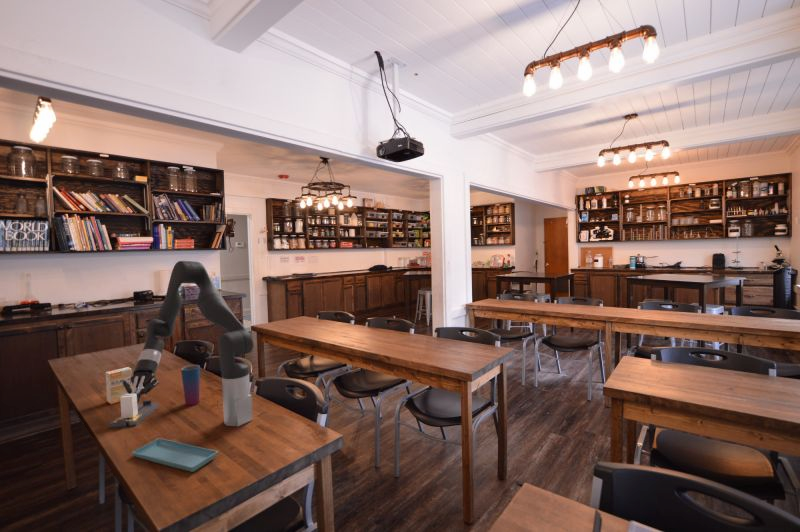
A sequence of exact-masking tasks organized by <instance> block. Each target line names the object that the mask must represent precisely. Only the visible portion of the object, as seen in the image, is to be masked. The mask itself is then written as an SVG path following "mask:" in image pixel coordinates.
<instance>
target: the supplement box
mask: <svg viewBox="0 0 800 532" xmlns="http://www.w3.org/2000/svg"><path fill="white" fill-rule="evenodd" d="M132 370H133V369H132V368H131V367H129V366H128V367H123V368H117V369H113V370H109V371H105V387H106V401H107V403H108V404H110V405H113V404H117V403H121V401H120V397H122V396H123V395H125V394H129V393H128V392H127V391H126V389H125V387H124V385H123V382H124V381H128V380H130V378H131V377H132V375H133V371H132ZM130 387H131V389H133V384H132V382H131V386H130Z"/></svg>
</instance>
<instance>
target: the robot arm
mask: <svg viewBox="0 0 800 532" xmlns="http://www.w3.org/2000/svg"><path fill="white" fill-rule="evenodd" d="M182 284H195V285H196V286H197V287H198V289H199V293H198V296H197V299H196V305H197V308H198V309H199V311H200V312H201V315H202V316H203V317H204V318H205V319H206V320H207V321H209V322H210V323H212V324H214V325H216V326H219V327H220V328H222V329H224V330H225V331H226V332H224V333H222V334H220V335H219V336H218V340H217V351H218V352H217V353H218V361H219V369H220V373H221V388H222V389H221V390H222V407H223V423H224V425H225V426H227V427H240V426H242V425H245V424H247V423H249V422H251V421H253V420H254V419H253V416H254V415H253V398H252V395H251V388H250V387H251V386H250V385H251V383H250V382H251V381H250V368H249V365H248V364H246V363H239V362H236V359H235V358H236V357H240V356H244V355H247V354H249V353H251V352H252V351H253V349H254V339H253V336H252V335H251V334H250V332H249V330H247V328H246V327H245V326H244V324H242V323H241V321H240V320H239V319H238V318H237V317H236V315H235V314H234V312H233V311H232V309H231V308H230V307H229V306H228V304H227V302H226V300H225V299H224V298H223V295H221V293H220V292H219V291H218V289H217V288H216V285H215V284H214V282H213V281H212V278H211V277H210V275H209V273H208V270H207V269H206V267H205V266H204V264H203V263H201V262H200V261H194V260H193V261H190V260H179V261H177V262H176V263H175V264H174V266H173V268H172V271H171V274H170V278H169V282H168V285H167V290H166V293H165V297H164V300H163V302H162V304H161V306H160V308H159V311H158V313H157V317H158V319H157V318H153V319H151V320H149V321H148V323H147V324H146V325H147V326H146V333H145V334H146V336H145V337H146V339H145V343H144V345H143V348H142V351H141V352H140V354H139V357H138V360H137V361H136V365H135V367H134V370H133V372H132V377H131V378H130V380H128V381H124V382H123V385H124V387H125V389H126V391H127V392H128V393H129V394H135V393H137V404H140V403H139V402H140V399H141V397H142V396H143V395H147V394H149V392H151V391H152V390H153V389H154V388H155V387H157V386H158V385H159V383H160V382H159V381H158V380H157V379H156V377H155V376H156V373H157V370H158V367H159V364H160V363H161V358H162V353H163V350H164V348H165V344H166V343H165V341H164V340H162V339H169V338H171V337H172V336H173V335H174V333H175V328H176V319H177V316H178V315H179V312H180V310H181V309H182V306H183V305H182V304H183V302H182V301H183V300H182V297H181V295H180V292H179V289H180V287H181V285H182ZM161 338H162V339H161ZM131 382H132V386H133V389H131V387H130V386H131Z"/></svg>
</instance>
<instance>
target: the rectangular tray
mask: <svg viewBox="0 0 800 532" xmlns="http://www.w3.org/2000/svg"><path fill="white" fill-rule="evenodd" d="M217 453H218V450H215V449H209V448H205V447H200V446H197V445H196V446H195V445H192V444H186V443H183V442H178V441H174V440H171V439H165V438H158V437H157V438H156V439H155V440H152V441H150V442H149V443H146V444H145V445H142V446H141V447H139V448H137V449H135V450H133V451H132V452H131V454H132V455H133V456H134V457H136V458H139V459H142V460H145V461H149V462H152V463H157V464H161V465H164V466H168V467H171V468H174V469H175V468H176V469H179V470H183V471H188V472H191V473H194V472H196V471H197V470H199V469H200V468H202V467H203V466H205V465H206V464H209V463H210V462H211V461H212V460H214V459H215V457H216V455H218V454H217Z"/></svg>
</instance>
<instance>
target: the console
mask: <svg viewBox="0 0 800 532" xmlns="http://www.w3.org/2000/svg"><path fill="white" fill-rule="evenodd" d="M152 400H153V399H143V400H142V403H141V404H140V403H138V404H137V407H138V414H137V415H136V416H135V417H134V418H122V415H121V414H120V415H119V416H118V417H116V418H115V419H113V420H112V421H110V422H109V428H110V427H111V428H116V429H122V427H124V428H127V427H132V426H133V425H136V426H138V425H139V424H140V423H141V422H142V420H143V421H144V420H145V419H147V418H148V416H150V415H151V414H152V413H153V412H155V411H156V410H157V409H159V407H160V404H159V402H155V403H153V401H152ZM155 409H156V410H155ZM154 410H155V411H154ZM133 427H134V426H133Z"/></svg>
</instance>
